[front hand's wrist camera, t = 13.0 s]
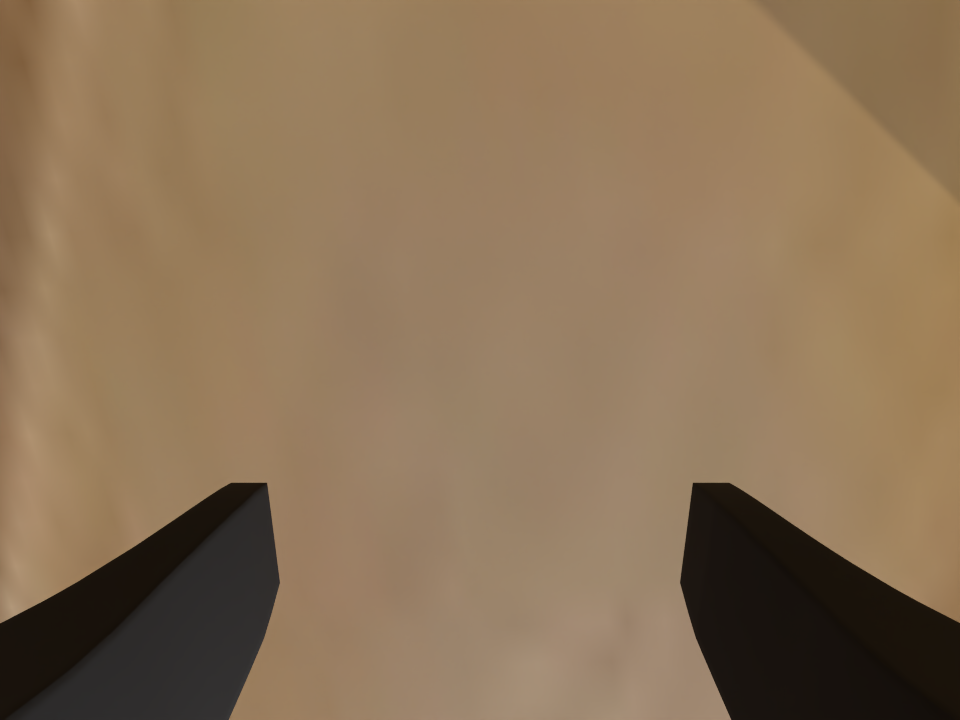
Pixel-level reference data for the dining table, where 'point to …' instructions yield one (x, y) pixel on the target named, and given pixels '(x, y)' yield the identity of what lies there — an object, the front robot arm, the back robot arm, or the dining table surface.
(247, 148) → the dining table surface
